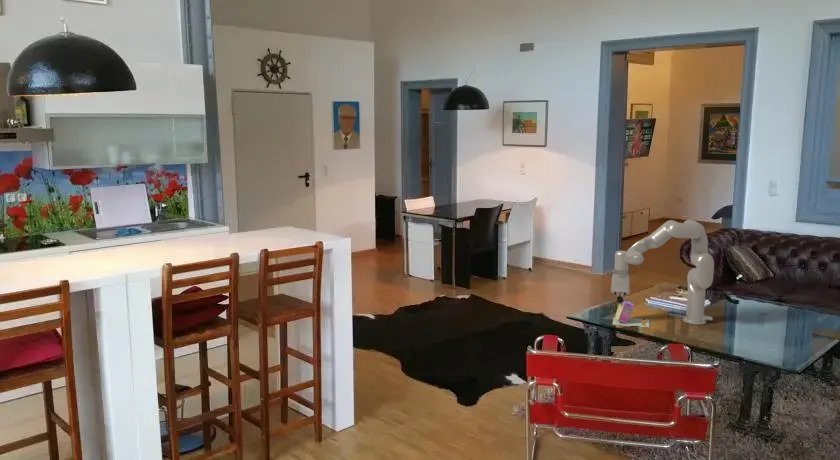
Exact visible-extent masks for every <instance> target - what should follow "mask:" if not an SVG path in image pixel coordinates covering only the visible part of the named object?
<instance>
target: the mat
mask: <svg viewBox="0 0 840 460" xmlns="http://www.w3.org/2000/svg"><path fill="white" fill-rule="evenodd" d="M612 318H613V319H612V326H619V325H621V326H620V327H630V326H640V327H639V328H641V327H648V328H647V329H650V319H645V318H634V317H629V320H628V322H627V324H626V323H623V322H620V321H618V320H617V318H616V316H613V317H612ZM643 319H645V320H646V324H645V325H646V326H644V325H642V322H641V321H642V320H643Z"/></svg>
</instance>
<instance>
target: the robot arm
mask: <svg viewBox="0 0 840 460" xmlns="http://www.w3.org/2000/svg"><path fill="white" fill-rule="evenodd" d="M672 237H673V238H677V239H691V240H690V241H691V248H690V249H691V250H690V262H691V264H692V265H693V266H695V267H693V268H691V269H690V270H689V271H688V273H687V277H686V281H687V295H686V309H685V310H686V312H685V313H686V314H685V316H684V317H682V320H683V322H684V323H687V324H691V325H696V326H697V325H704V324H707V321H713V316H710V315H705V307H706V306H705V305H706V303H705V302H706V289H708V288H710V287H711V286H712V285H713V280H714V273H715V270H714V269H715V260H714V257H713V256H712V255H711V254H710V253H708V247H709V243H708V235H707V233H706V231H705V227H704V225H702V223H700V222H697V221H696V220H693V219H686V220H685V221H684V222H678V221H676V220H673V219H670V220H667V221H666V222H664V223H663V224H662V225H660V226H659V227H658V228H657V229H656V230H654V231H653V232H652V233H651V234H649V235H648V236H645V237H643V238H642V239H639V240H638V241H637V242H636V243H634V244H633V245H631V246H630V247H629V248H628V249H627V250H617V251H615V253H614V269H611V273H612V276H611V284H610V285H611V287H610V293H612V294H615V296H616V302H617V303H618V304H621V302H623V298H624V296H626V295H629V294H631V291H630V290H631V289H630V287H631V286H630V283H631V280H630V275H629V265H634V266H635V265H636V266H638V265H641V264H642V263H643V262H644V260H645V259H644V255H643V254H644V253H645V252H647V251H648V250H652V249H656V248H657V249H658V248H660V247H661V246H663V245H664V244H665V243H666V242H667V241H668V240H670V239H671V238H672ZM620 293H621V294H620Z"/></svg>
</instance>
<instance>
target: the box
mask: <svg viewBox="0 0 840 460" xmlns="http://www.w3.org/2000/svg"><path fill="white" fill-rule="evenodd" d="M618 304H619V305H618V308H617V309H616V312H615V317H616V318H617V320H618V321H620V322H623V323H626V324H627V322H628V320H629V318H631V315H632V312H633V310H634V307H635V304H634V303H633V301H632V300H631V299H630V298H626V297H623V302H621V304H620V303H618Z"/></svg>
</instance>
